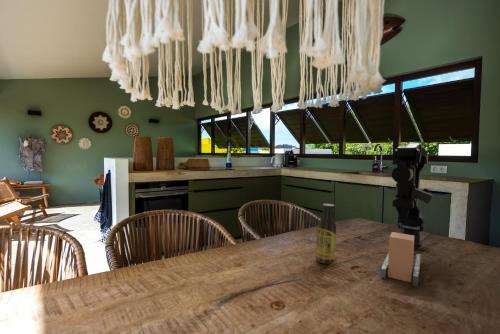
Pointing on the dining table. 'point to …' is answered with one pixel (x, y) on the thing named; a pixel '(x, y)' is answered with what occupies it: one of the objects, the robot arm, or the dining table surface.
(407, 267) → the terracotta block
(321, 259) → the sauce bottle
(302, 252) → the dining table surface
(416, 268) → the chute
